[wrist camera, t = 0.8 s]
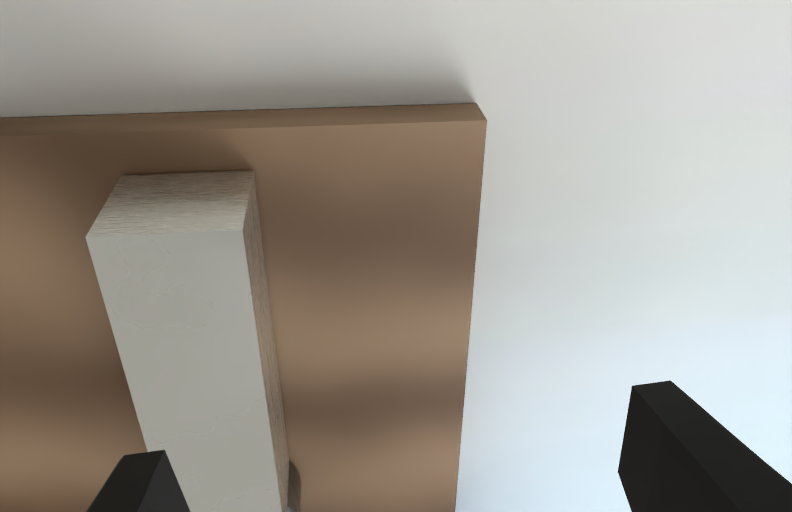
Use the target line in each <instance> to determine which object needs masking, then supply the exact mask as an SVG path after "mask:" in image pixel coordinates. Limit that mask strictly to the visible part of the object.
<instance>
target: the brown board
mask: <svg viewBox="0 0 792 512" xmlns="http://www.w3.org/2000/svg"><path fill="white" fill-rule="evenodd" d="M486 125H487V120H486V118H485V116H484V115H483V113H482V112H481V110H480V108H479V107H478V105H477V103H468V104H435V105H403V106H370V107H338V108H305V109H273V110H240V111H208V112H175V113H143V114H110V115H78V116H45V117H13V118H0V512H86V511H87V510H88V508H89V507H90V505H91V503H92V502H93V500H94V499H95V497H96V496H97V494H98V493H99V491H100V490H101V488H102V486H103V485H104V483H105V482H106V480H107V479H108V477H109V476H110V474H111V473H112V471H113V470H114V468H115V466H116V465H117V463H118V462H119V461H120V459H121V458H122V457H123V456H124V455H129V454H136V453H144V452H147V448H146V445H145V441H144V438H143V434H142V431H141V428H140V424H139V421H138V417H137V414H136V410H135V407H134V403H133V400H132V396H131V393H130V390H129V386H128V383H127V379H126V376H125V372H124V369H123V365H122V362H121V358H120V355H119V352H118V348H117V345H116V341H115V338H114V334H113V331H112V327H111V324H110V320H109V317H108V314H107V310H106V307H105V303H104V300H103V296H102V293H101V289H100V286H99V282H98V279H97V276H96V272H95V269H94V265H93V262H92V258H91V255H90V251H89V248H88V244H87V241H86V238H85V237H86V235H87V234H88V232H89V230H90V229H91V227H92V225H93V223H94V222H95V220H96V218H97V217H98V215H99V213H100V211H101V210H102V208H103V206H104V205H105V203H106V201H107V200H108V198H109V196H110V194H111V193H112V191H113V189H114V188H115V186H116V184H117V182H118V181H119V179H120V177H121V176H122V175H147V174H173V173H199V172H225V171H250V170H254V176H255V185H256V193H257V201H258V209H259V217H260V225H261V234H262V242H263V250H264V258H265V266H266V275H267V283H268V291H269V299H270V307H271V316H272V324H273V332H274V340H275V348H276V356H277V365H278V373H279V381H280V389H281V397H282V406H283V414H284V422H285V430H286V438H287V446H288V455H289V461H290V462H292V464H293V465H294V466H295V467H296V469H297V470H298V472H299V474H300V478H301V512H455V504H456V492H457V479H458V467H459V455H460V443H461V431H462V418H463V406H464V394H465V382H466V370H467V357H468V345H469V333H470V321H471V309H472V296H473V284H474V272H475V260H476V248H477V235H478V223H479V211H480V199H481V186H482V174H483V162H484V150H485V138H486Z"/></svg>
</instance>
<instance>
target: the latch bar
mask: <svg viewBox="0 0 792 512" xmlns="http://www.w3.org/2000/svg"><path fill="white" fill-rule="evenodd" d="M85 238H86V241H87V244H88V248H89V251H90V255H91V258H92V262H93V265H94V269H95V272H96V276H97V279H98V282H99V286H100V289H101V293H102V296H103V300H104V303H105V307H106V310H107V314H108V317H109V320H110V324H111V327H112V331H113V334H114V338H115V341H116V345H117V348H118V352H119V355H120V358H121V362H122V365H123V369H124V372H125V376H126V379H127V383H128V386H129V390H130V393H131V396H132V400H133V403H134V407H135V410H136V414H137V417H138V421H139V424H140V428H141V431H142V434H143V438H144V441H145V445H146V448H147V452H151V451H158V450H165V451H166V454H167V456H168V459H169V461H170V464H171V466H172V468H173V471H174V473H175V476H176V478H177V480H178V483H179V485H180V488H181V490H182V492H183V495H184V497H185V500H186V502H187V505H188V507H189V509H190V512H301V478H300V474H299V472H298V470H297V469H296V467H295V466H294V465H293V464H292V462H290V461H289V455H288V446H287V438H286V430H285V422H284V414H283V406H282V397H281V389H280V381H279V373H278V365H277V356H276V348H275V340H274V332H273V324H272V316H271V307H270V299H269V291H268V283H267V275H266V266H265V258H264V250H263V242H262V234H261V225H260V217H259V209H258V201H257V193H256V185H255V176H254V170H250V171H225V172H199V173H173V174H147V175H122V176H121V177H120V179H119V181H118V182H117V184H116V186H115V188H114V189H113V191H112V193H111V194H110V196H109V198H108V200H107V201H106V203H105V205H104V206H103V208H102V210H101V211H100V213H99V215H98V217H97V218H96V220H95V222H94V223H93V225H92V227H91V229H90V230H89V232H88V234H87V235H86V237H85Z"/></svg>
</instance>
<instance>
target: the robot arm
mask: <svg viewBox="0 0 792 512" xmlns="http://www.w3.org/2000/svg"><path fill="white" fill-rule="evenodd" d="M618 473H619V476H620V479H621V482H622V485H623V488H624V491H625V494H626V496H627V499H628V502H629V505H630V508H631V510H632V512H792V484H791V483H790V482H789V481H788V480H786V479H785V478H784V477H783V476H781V475H780V474H779V473H778V472H777V471H775V470H774V469H773V468H772V467H770V466H769V465H768V464H767V463H766V462H764V461H763V460H762V459H761V458H760V457H759V456H757V455H756V454H755V453H754V452H753V451H751V450H750V449H749V448H748V447H747V446H746V445H744V444H743V443H742V442H741V441H740V440H739V439H737V438H736V437H735V436H734V435H733V434H732V433H730V432H729V431H728V430H727V429H726V428H725V427H724V426H722V425H721V424H720V423H719V422H718V421H717V420H715V419H714V418H713V417H712V416H711V415H710V414H709V413H707V412H706V411H705V410H704V409H703V408H702V407H701V406H699V405H698V404H697V403H696V402H695V401H694V400H693V399H691V398H690V397H689V396H688V395H687V394H686V393H684V392H683V391H682V390H681V389H680V388H679V387H677V386H676V385H675V384H674V383H673V382H671V381H664V382H657V383H650V384H642V385H635V386H632V390H631V396H630V402H629V408H628V414H627V420H626V426H625V432H624V438H623V444H622V450H621V456H620V462H619V468H618ZM86 512H190V509H189V507H188V505H187V502H186V500H185V497H184V495H183V492H182V490H181V488H180V485H179V483H178V480H177V478H176V476H175V473H174V471H173V468H172V466H171V464H170V461H169V459H168V456H167V454H166V451H165V450H158V451H151V452H144V453H136V454H129V455H124V456H123V457H122V458H121V459H120V461H119V462H118V463H117V465H116V466H115V468H114V470H113V471H112V473H111V474H110V476H109V477H108V479H107V480H106V482H105V483H104V485H103V486H102V488H101V490H100V491H99V493H98V494H97V496H96V497H95V499H94V500H93V502H92V503H91V505H90V507H89V508H88V510H87V511H86Z"/></svg>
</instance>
